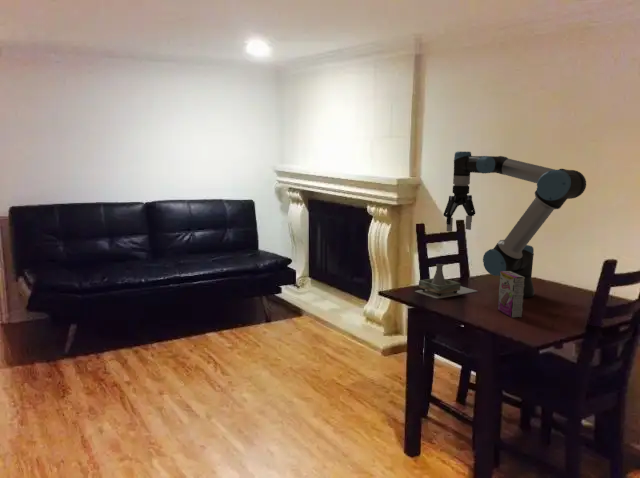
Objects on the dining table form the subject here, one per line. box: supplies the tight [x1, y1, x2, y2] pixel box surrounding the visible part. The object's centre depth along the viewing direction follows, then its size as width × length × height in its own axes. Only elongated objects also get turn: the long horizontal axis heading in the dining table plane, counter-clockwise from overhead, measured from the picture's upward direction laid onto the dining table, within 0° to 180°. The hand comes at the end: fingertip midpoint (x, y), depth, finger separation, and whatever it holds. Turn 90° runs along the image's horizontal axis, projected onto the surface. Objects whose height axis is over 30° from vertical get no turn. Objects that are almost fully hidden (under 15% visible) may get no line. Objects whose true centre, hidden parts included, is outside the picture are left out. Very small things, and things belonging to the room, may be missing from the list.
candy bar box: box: [497, 271, 525, 319], centre depth 230 cm, size 11×5×16 cm, turn 12°
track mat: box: [414, 285, 478, 300], centre depth 265 cm, size 14×26×1 cm, turn 123°
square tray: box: [418, 277, 462, 296], centre depth 262 cm, size 13×13×5 cm
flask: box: [432, 263, 446, 286], centre depth 260 cm, size 7×7×10 cm
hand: (458, 230), depth 271 cm, fingers open, 13 cm apart
